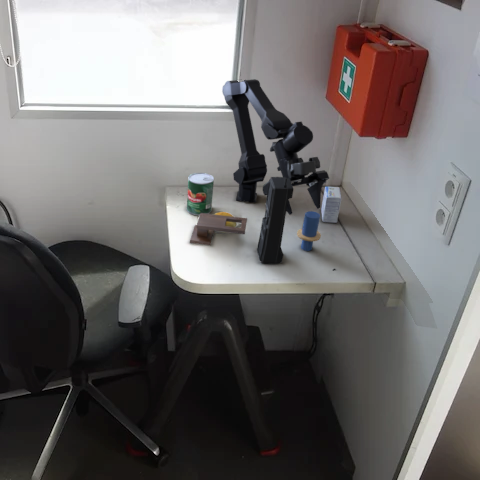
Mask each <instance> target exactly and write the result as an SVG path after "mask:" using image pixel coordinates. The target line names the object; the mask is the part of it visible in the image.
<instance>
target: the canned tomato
mask: <svg viewBox="0 0 480 480" xmlns="http://www.w3.org/2000/svg"><path fill="white" fill-rule="evenodd" d="M187 179H188V180H187V197H186V211H187V213H189V214H190V215H193V216H200V213H206V214H211V212H212V206H213V197H214V180H215V178H214V176H213V175H211V174H209V173H205V172H194V173H191V174H190V175H188V177H187Z"/></svg>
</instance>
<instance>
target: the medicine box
mask: <svg viewBox="0 0 480 480" xmlns="http://www.w3.org/2000/svg"><path fill="white" fill-rule="evenodd" d="M341 203H342V193H341V189H340V187H339V186H327V185H326V186H325V188H324V192H323V197H322V202H321V206H320V211H321V221H322V223H331V224H332V223H334V224H337V223H338V220H339V214H340V209H341Z"/></svg>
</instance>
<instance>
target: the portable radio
mask: <svg viewBox="0 0 480 480" xmlns="http://www.w3.org/2000/svg"><path fill="white" fill-rule="evenodd" d="M268 181H269V183H268V191H267V195H266V199H265V212H264V217H263V218H262V220H261V225H260V232H259V238H258V243H257V247H256V251H257V257H258V260H259V262H260V263H261V264H263V265H279V264H282V262H283V258H284V252H283V249H282V241H283V235H284V229H285V222H286V215H287V211H286V210H287V203H288V200H289V201H290V199H293V195H294V186H292V184H291V181H290V179H289V178H285V177H283V176H270V178H269V180H268Z"/></svg>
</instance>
